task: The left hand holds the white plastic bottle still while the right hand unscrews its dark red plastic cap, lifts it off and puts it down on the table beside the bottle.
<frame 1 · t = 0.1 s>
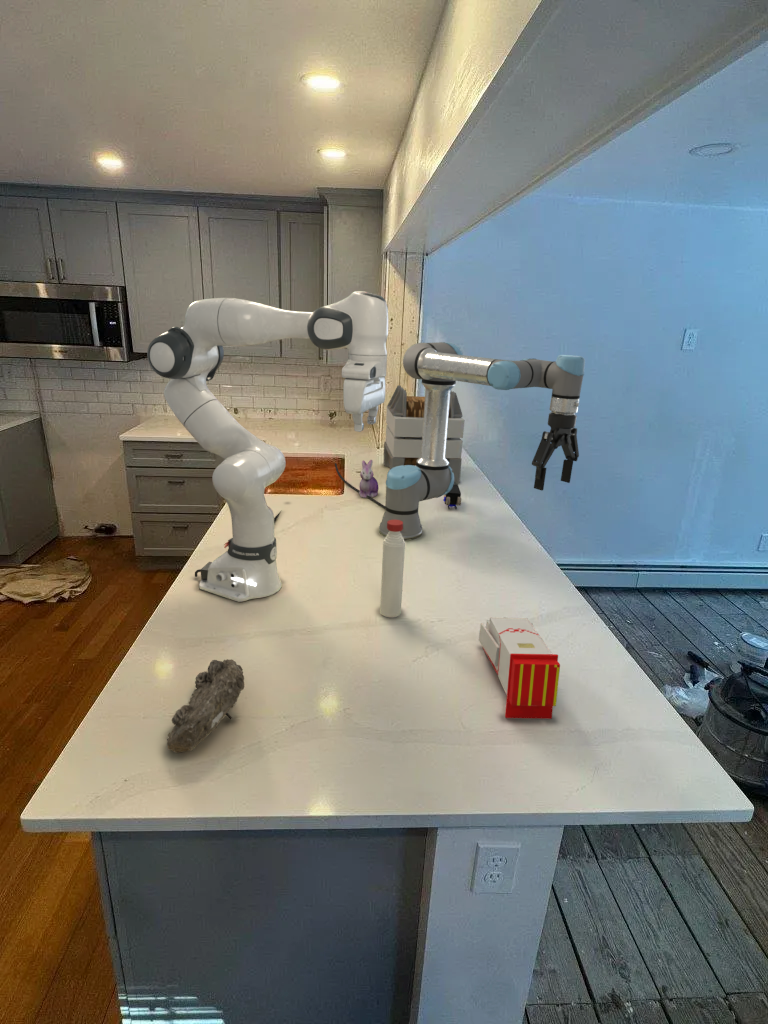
left hand: (365, 427, 134), 48 cm above the counter, tool pointing down, fingers open, 8 cm apart
right hand: (552, 485, 166), 28 cm above the counter, tool pointing down, fingers open, 13 cm apart
figurine: (368, 495, 239), on the counter
grey slatted box: (419, 473, 275), on the counter
fossil: (212, 717, 108), on the counter
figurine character: (451, 505, 231), on the counter
feather: (279, 514, 213), on the counter
bottle: (390, 612, 148), on the counter
toy: (511, 677, 124), on the counter
cap: (395, 523, 140), point 25 cm above the counter, screwed on, not yet turned
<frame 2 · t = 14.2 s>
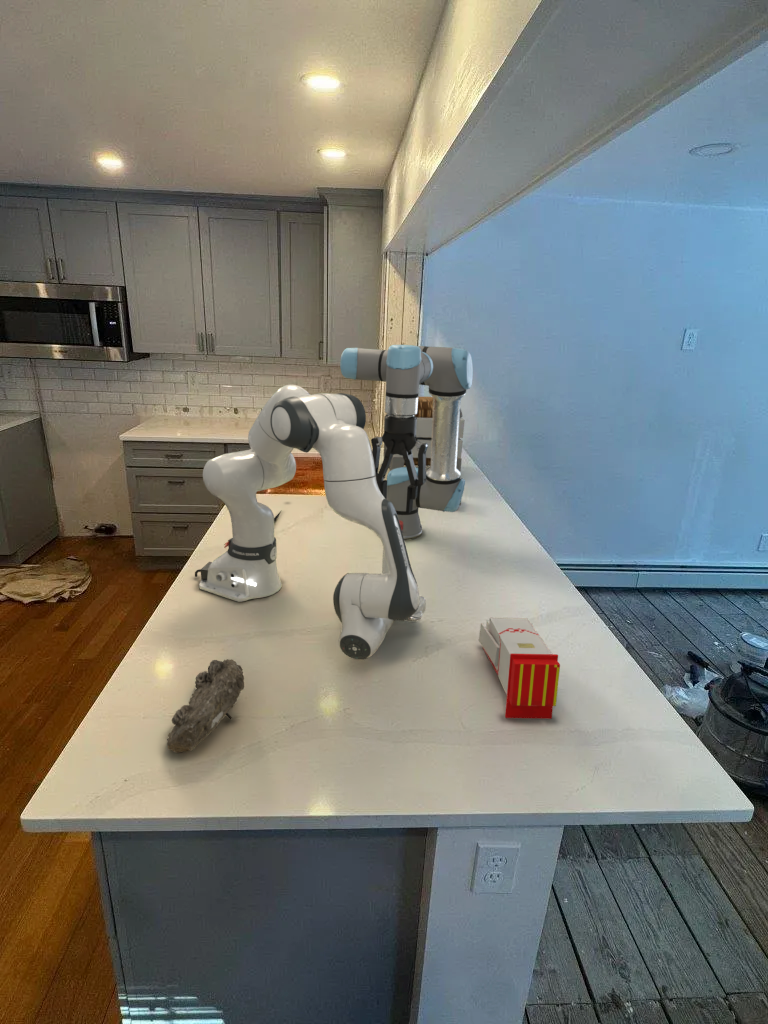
left hand: (392, 587, 147), 7 cm above the counter, tool horizontal, fingers closed on bottle, 5 cm apart
right hand: (395, 508, 139), 29 cm above the counter, tool pointing down, fingers open, 6 cm apart
bottle: (390, 612, 148), on the counter, touching left hand
everything else where it was.
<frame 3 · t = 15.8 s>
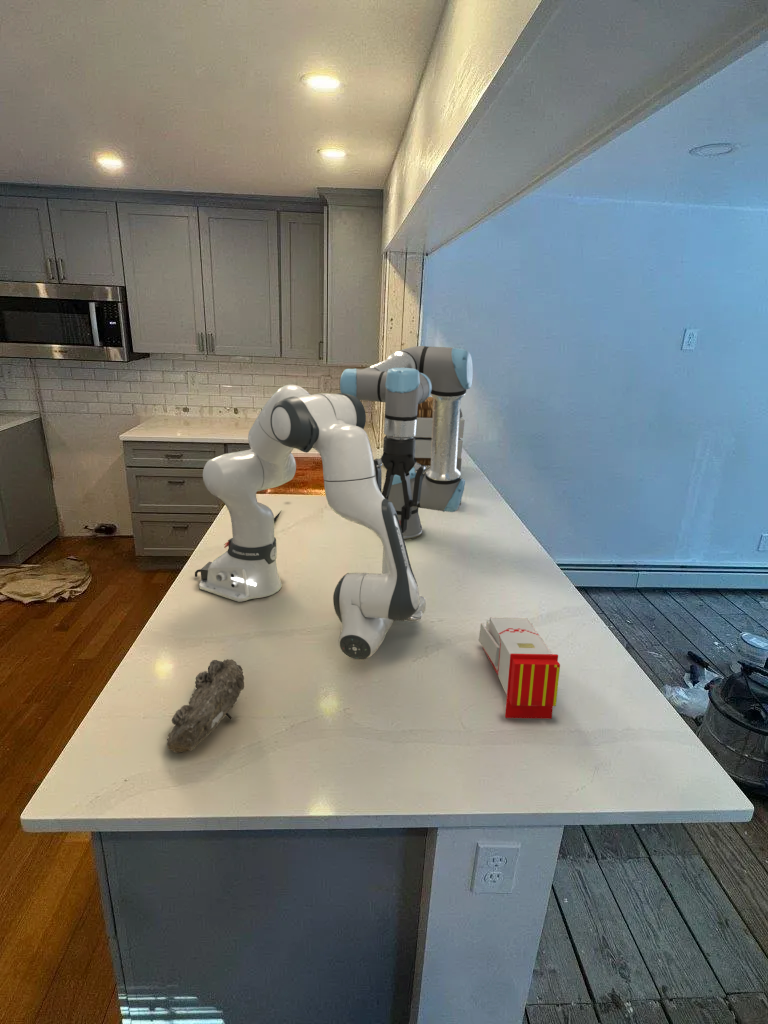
left hand: (392, 587, 147), 7 cm above the counter, tool horizontal, fingers closed on bottle, 5 cm apart
right hand: (394, 529, 140), 23 cm above the counter, tool pointing down, fingers closed on cap, 4 cm apart
bottle: (390, 612, 148), on the counter, touching left hand
cap: (395, 523, 140), point 25 cm above the counter, screwed on, not yet turned, touching right hand
everything else where it was.
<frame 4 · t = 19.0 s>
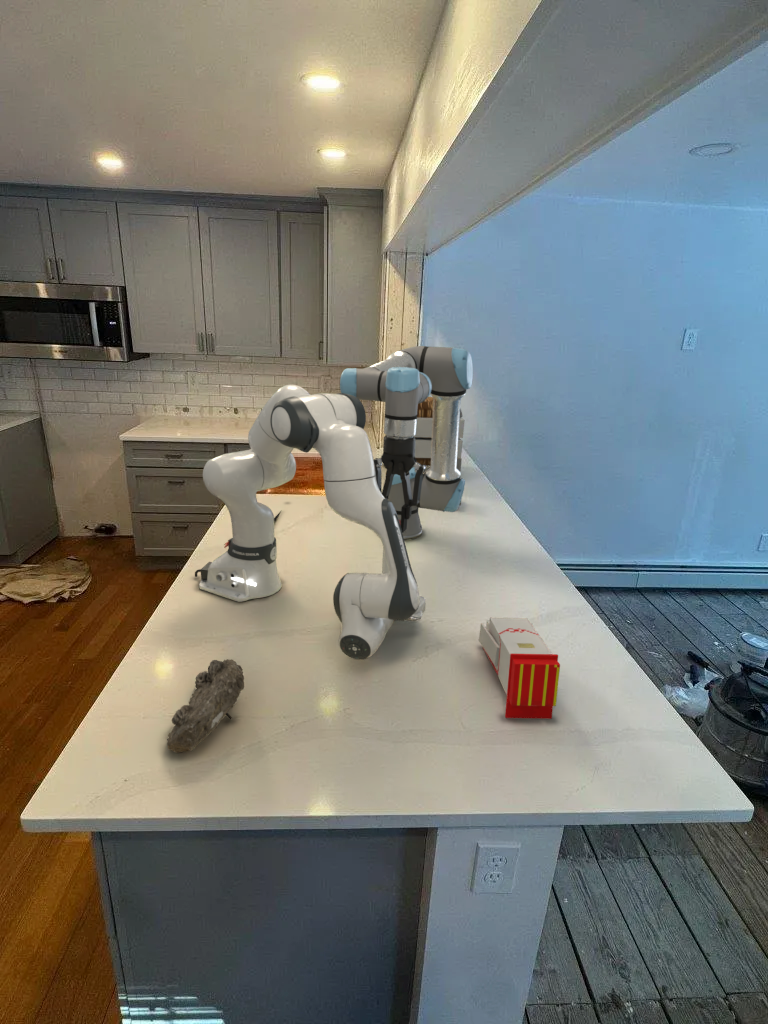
left hand: (392, 587, 147), 7 cm above the counter, tool horizontal, fingers closed on bottle, 5 cm apart
right hand: (394, 528, 140), 23 cm above the counter, tool pointing down, fingers closed on cap, 4 cm apart
bottle: (390, 612, 148), on the counter, touching left hand
cap: (395, 523, 140), point 25 cm above the counter, turned 90° so far, risen 0.1 cm, still on its thread, touching right hand
everything else where it was.
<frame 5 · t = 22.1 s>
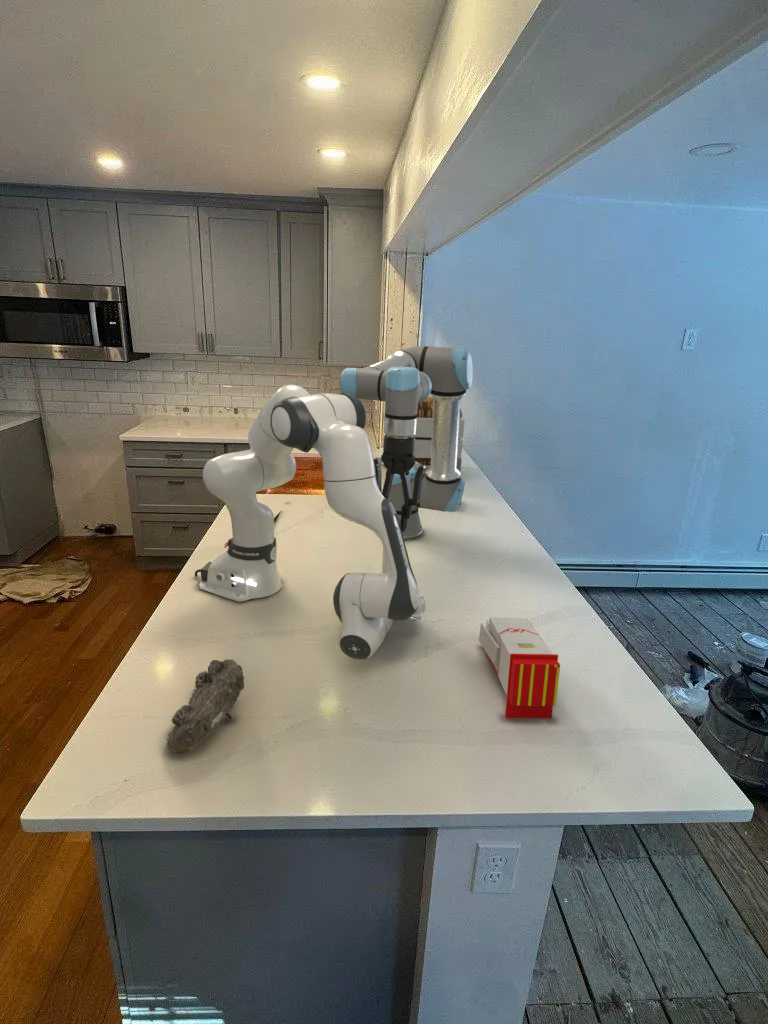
left hand: (392, 587, 147), 7 cm above the counter, tool horizontal, fingers closed on bottle, 5 cm apart
right hand: (394, 528, 140), 24 cm above the counter, tool pointing down, fingers closed on cap, 4 cm apart
bottle: (390, 612, 148), on the counter, touching left hand
cap: (395, 522, 140), point 25 cm above the counter, turned 181° so far, risen 0.2 cm, still on its thread, touching right hand
everything else where it was.
when the right hand's fingers open (1 cm above the counter, at t = 34.8 s): cap stays where it is, point 1 cm above the counter.
when the left hand's fingers open (7 cm above the counter, at t = 36.2 s): bottle stays where it is, on the counter.
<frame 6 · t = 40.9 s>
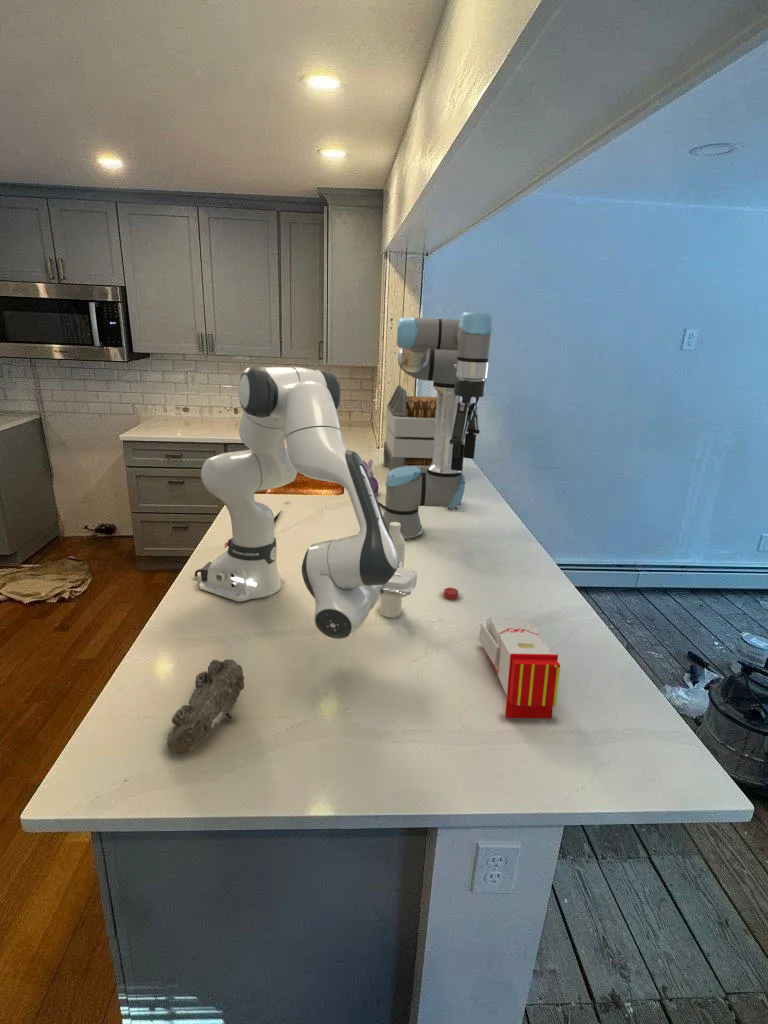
left hand: (379, 561, 130), 20 cm above the counter, tool horizontal, fingers open, 8 cm apart
right hand: (462, 463, 145), 38 cm above the counter, tool pointing down, fingers open, 13 cm apart
bottle: (390, 612, 148), on the counter
cap: (451, 591, 157), point 1 cm above the counter, off its thread
everything else where it was.
at the end: cap came off its thread; cap point 1.5 cm above the counter; the left hand is holding nothing; the right hand is holding nothing; bottle tilted 0°; bottle moved 0.0 cm from its start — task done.
